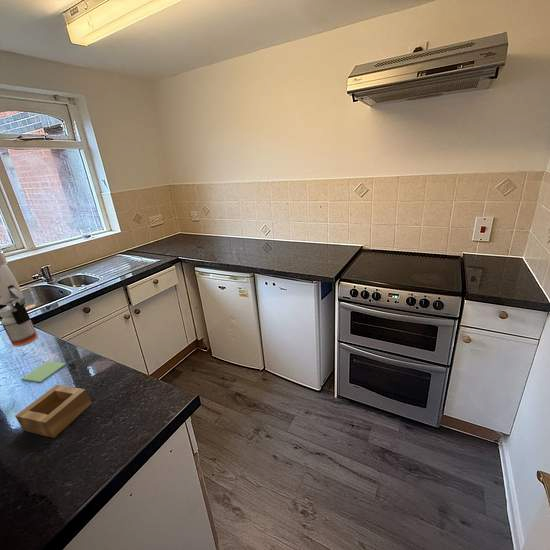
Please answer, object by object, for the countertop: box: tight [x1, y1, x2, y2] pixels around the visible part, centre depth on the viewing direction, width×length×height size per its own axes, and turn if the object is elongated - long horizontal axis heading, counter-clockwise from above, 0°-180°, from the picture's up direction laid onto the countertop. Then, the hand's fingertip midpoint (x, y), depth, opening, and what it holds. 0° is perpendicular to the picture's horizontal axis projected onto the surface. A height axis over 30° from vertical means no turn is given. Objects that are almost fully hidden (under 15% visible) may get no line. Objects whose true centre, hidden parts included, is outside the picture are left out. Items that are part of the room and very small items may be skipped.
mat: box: [21, 360, 68, 384], centre depth 99 cm, size 9×9×1 cm
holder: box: [14, 384, 93, 439], centre depth 78 cm, size 11×11×5 cm
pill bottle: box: [0, 303, 39, 348], centre depth 86 cm, size 6×6×11 cm
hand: (16, 320), depth 86 cm, fingers closed on pill bottle, 6 cm apart
